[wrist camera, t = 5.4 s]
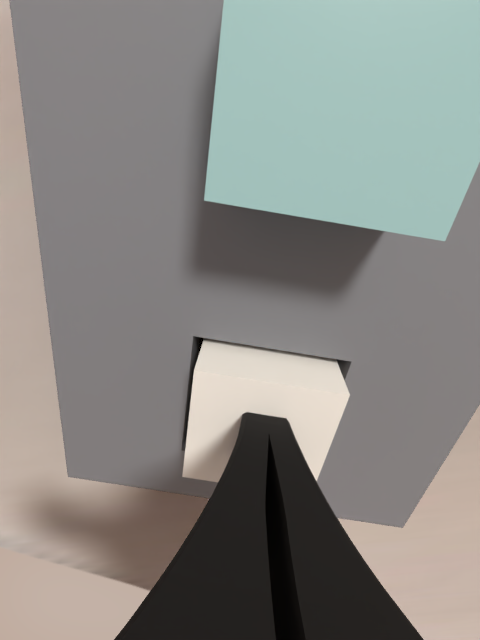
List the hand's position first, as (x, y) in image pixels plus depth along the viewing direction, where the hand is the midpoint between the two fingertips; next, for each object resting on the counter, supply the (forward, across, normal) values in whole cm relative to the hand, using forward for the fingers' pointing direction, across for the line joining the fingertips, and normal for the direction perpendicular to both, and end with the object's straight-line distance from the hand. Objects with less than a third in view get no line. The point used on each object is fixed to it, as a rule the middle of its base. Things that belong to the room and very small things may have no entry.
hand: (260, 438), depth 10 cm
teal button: (+2, 0, -9) cm, 9 cm away
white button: (+3, 0, 0) cm, 3 cm away
